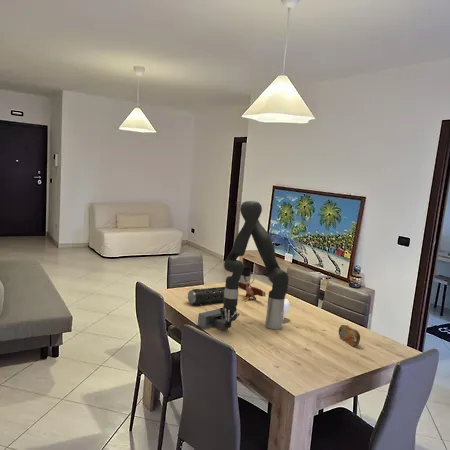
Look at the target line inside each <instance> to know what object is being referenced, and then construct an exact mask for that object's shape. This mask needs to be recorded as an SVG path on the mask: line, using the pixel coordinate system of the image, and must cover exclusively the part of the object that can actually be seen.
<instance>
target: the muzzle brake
mask: <svg viewBox="0 0 450 450" xmlns="http://www.w3.org/2000/svg"><path fill="white" fill-rule="evenodd" d="M224 291H225V286H218V287H209V288H192V289H191V290H189V291H188V293H187V299H188V302H189V304H191V305H199V306H200V304H202V305H204V304H208V303H210V304H213V303H215V304H216V303H223V300H224Z"/></svg>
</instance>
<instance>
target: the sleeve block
mask: <svg viewBox="0 0 450 450" xmlns="http://www.w3.org/2000/svg"><path fill="white" fill-rule="evenodd" d="M224 315H225V314H224ZM197 317H198V318H197V327H199V328H202V329H203V330H208V329H211V328H214V326H213V322H214V317H217V318H219V319H221V320H223V321H225V322H226V320H225V319H224V318H223V316H222V314H221V311H220V308H216V309H212V310H208V311H204V312H200V313H198V316H197Z"/></svg>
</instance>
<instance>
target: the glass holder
mask: <svg viewBox="0 0 450 450" xmlns="http://www.w3.org/2000/svg"><path fill="white" fill-rule="evenodd" d="M251 270H252V269H251V268H249V267H243V272H242V274H241V277H240V280H239V282H241V283H244V284H246V282H245V280H244V277H246V278H247V280H248V282H249V285H250V286H251V285H252V284H253V283H254V281H255V277H256V276H255V273H254V272H252V271H251ZM252 274H253V280H252V282H251V277H252ZM238 290H242V291H244V290H243V289H241V288H239V287H238Z"/></svg>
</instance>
